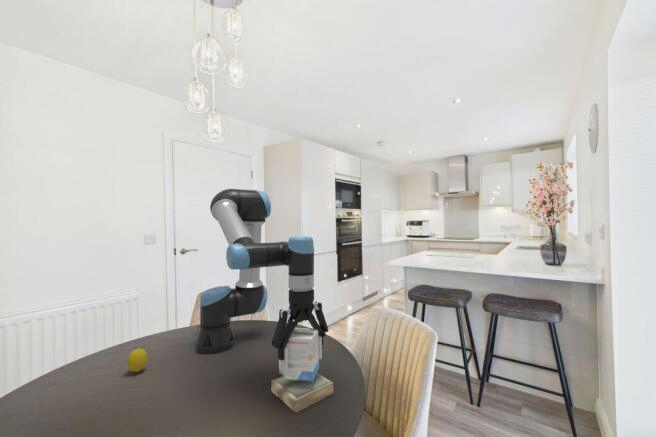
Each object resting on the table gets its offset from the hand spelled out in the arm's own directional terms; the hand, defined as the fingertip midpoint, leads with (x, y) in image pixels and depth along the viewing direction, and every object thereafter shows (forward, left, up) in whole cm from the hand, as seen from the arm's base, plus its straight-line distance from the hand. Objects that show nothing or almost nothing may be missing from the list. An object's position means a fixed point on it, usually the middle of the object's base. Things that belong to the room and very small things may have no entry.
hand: (301, 363), depth 82 cm
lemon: (-46, -35, -8) cm, 58 cm away
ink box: (0, 0, -3) cm, 3 cm away
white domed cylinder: (-13, +4, -8) cm, 16 cm away
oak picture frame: (0, 0, -8) cm, 8 cm away
